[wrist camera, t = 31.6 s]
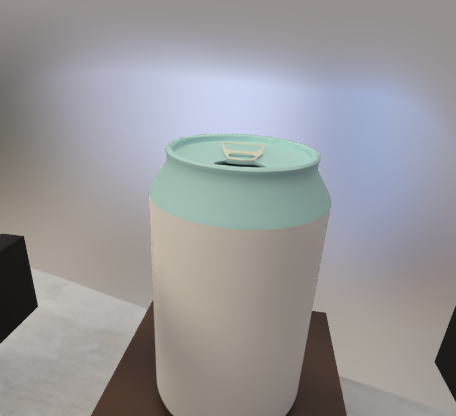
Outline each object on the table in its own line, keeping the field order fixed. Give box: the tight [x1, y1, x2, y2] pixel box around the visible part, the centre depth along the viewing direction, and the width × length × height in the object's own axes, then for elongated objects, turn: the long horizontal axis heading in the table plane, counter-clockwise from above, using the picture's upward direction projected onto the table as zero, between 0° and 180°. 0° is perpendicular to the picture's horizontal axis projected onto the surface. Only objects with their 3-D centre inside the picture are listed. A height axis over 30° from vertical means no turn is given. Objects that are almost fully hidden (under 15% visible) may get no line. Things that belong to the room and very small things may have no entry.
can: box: [149, 134, 331, 416], centre depth 15 cm, size 7×7×12 cm
